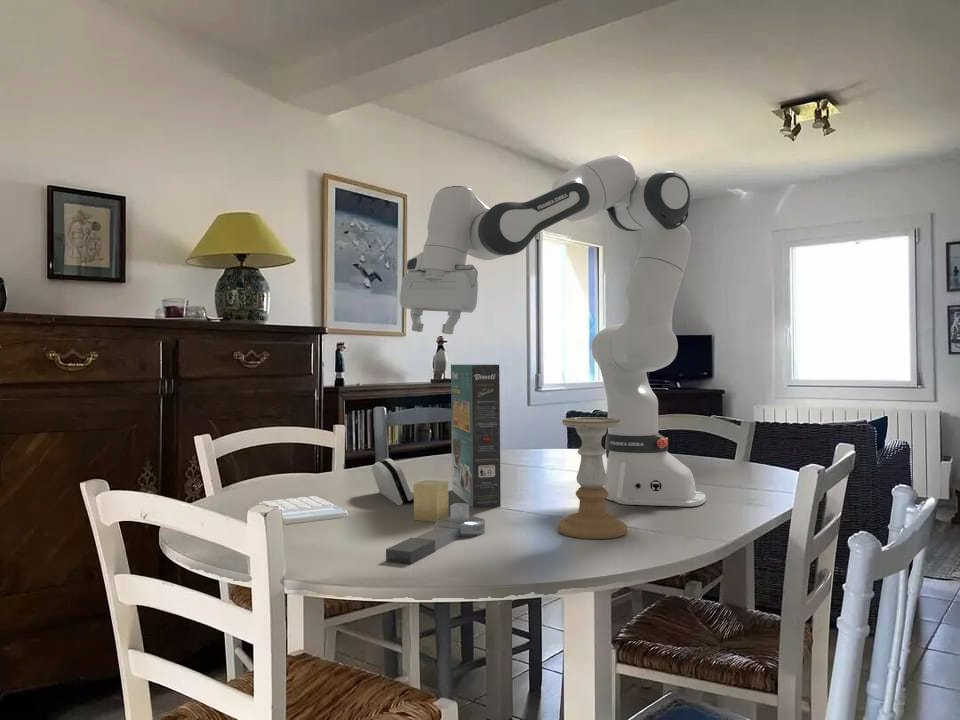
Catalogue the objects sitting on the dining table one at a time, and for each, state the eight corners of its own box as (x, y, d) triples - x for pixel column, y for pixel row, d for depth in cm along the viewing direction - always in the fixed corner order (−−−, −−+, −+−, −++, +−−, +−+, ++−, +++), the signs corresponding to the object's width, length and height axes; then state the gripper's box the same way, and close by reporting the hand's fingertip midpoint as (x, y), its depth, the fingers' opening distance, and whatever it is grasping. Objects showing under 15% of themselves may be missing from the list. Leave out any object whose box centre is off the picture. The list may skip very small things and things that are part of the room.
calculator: (317, 503, 163) (317, 494, 163) (349, 519, 146) (349, 509, 146) (256, 509, 156) (256, 500, 156) (283, 527, 139) (283, 517, 139)
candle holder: (627, 525, 136) (626, 416, 136) (627, 541, 124) (625, 422, 124) (561, 522, 139) (560, 416, 139) (554, 538, 127) (553, 421, 127)
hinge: (420, 503, 159) (404, 460, 158) (400, 512, 158) (384, 469, 156) (400, 490, 175) (385, 452, 174) (381, 498, 173) (367, 459, 172)
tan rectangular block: (448, 516, 145) (448, 481, 145) (436, 522, 140) (436, 485, 140) (426, 515, 147) (425, 480, 147) (413, 520, 142) (413, 483, 142)
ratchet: (448, 525, 138) (448, 498, 138) (492, 529, 134) (492, 501, 135) (373, 560, 114) (372, 528, 114) (424, 566, 110) (424, 533, 110)
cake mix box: (500, 506, 155) (499, 364, 155) (472, 507, 154) (471, 364, 154) (476, 489, 176) (475, 364, 176) (452, 490, 175) (450, 364, 175)
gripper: (489, 268, 143) (478, 338, 142) (423, 269, 157) (412, 332, 157) (466, 260, 138) (454, 332, 138) (400, 262, 153) (389, 327, 152)
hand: (431, 332), depth 147 cm, fingers open, 8 cm apart
